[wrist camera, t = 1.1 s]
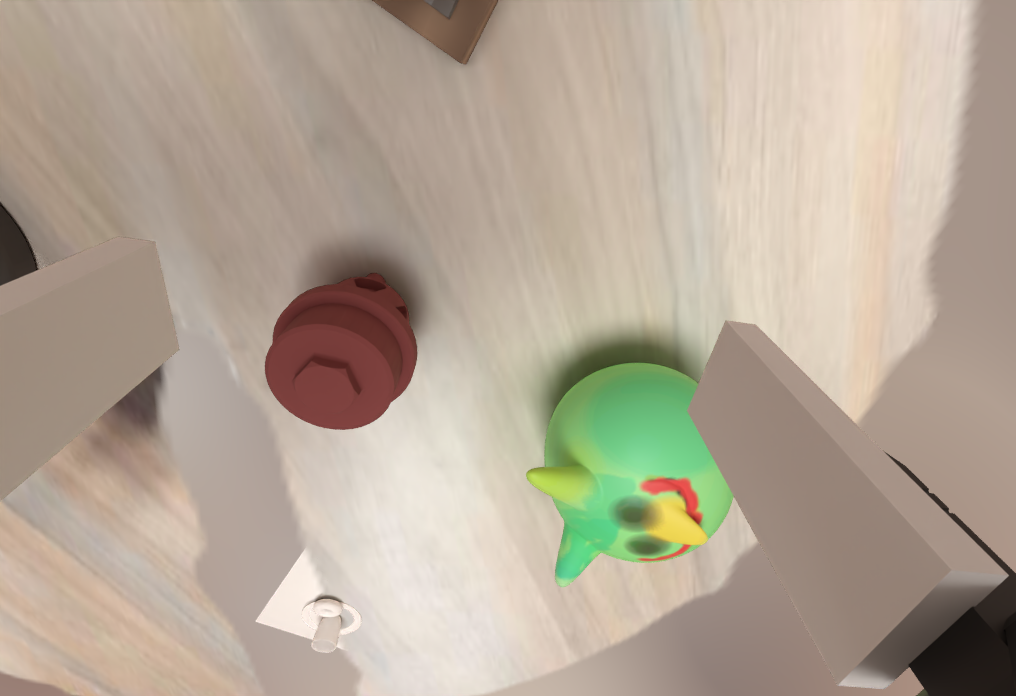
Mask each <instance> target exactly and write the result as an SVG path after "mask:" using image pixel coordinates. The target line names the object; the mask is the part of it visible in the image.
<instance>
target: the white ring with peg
mask: <svg viewBox="0 0 1016 696" xmlns="http://www.w3.org/2000/svg"><path fill="white" fill-rule="evenodd" d="M342 607H343V608H345V609H347V610H348V611H349V612H351V614H352V615H353V617H354V622H353V624H352V625H351V626H349V627H348V628H345V629H340V628H341V617H340V616H339V615H340V614H341V612H342ZM300 615H301V619H302V621H303V623H304V624H305V625H306V626H307V627H309V628H310V629H312V630H313V631H315V633H314V636H313V638H312V640H313V641H312V644H311V645H312V648H313V649H315V650H316V651H319V652H324V653H327V652H332V651H334V650H335V649H336V648H337V646H338V638H339V635H343V634H348V633H351V632H353V631H355V630H356V629H358V628H359V627H360V625H361V622H362V619H361V616H360V614H359V612H358V611H357V610H356V609H354V608H353V607H351V606H349V605H347V604H345V603H342V602H338V601H335V600H332V599H323V598H321V599H318V600H316V601H312V602H310V603H308V604H307V605H306V606H304V607H303V609H302V610H301V614H300Z"/></svg>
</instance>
